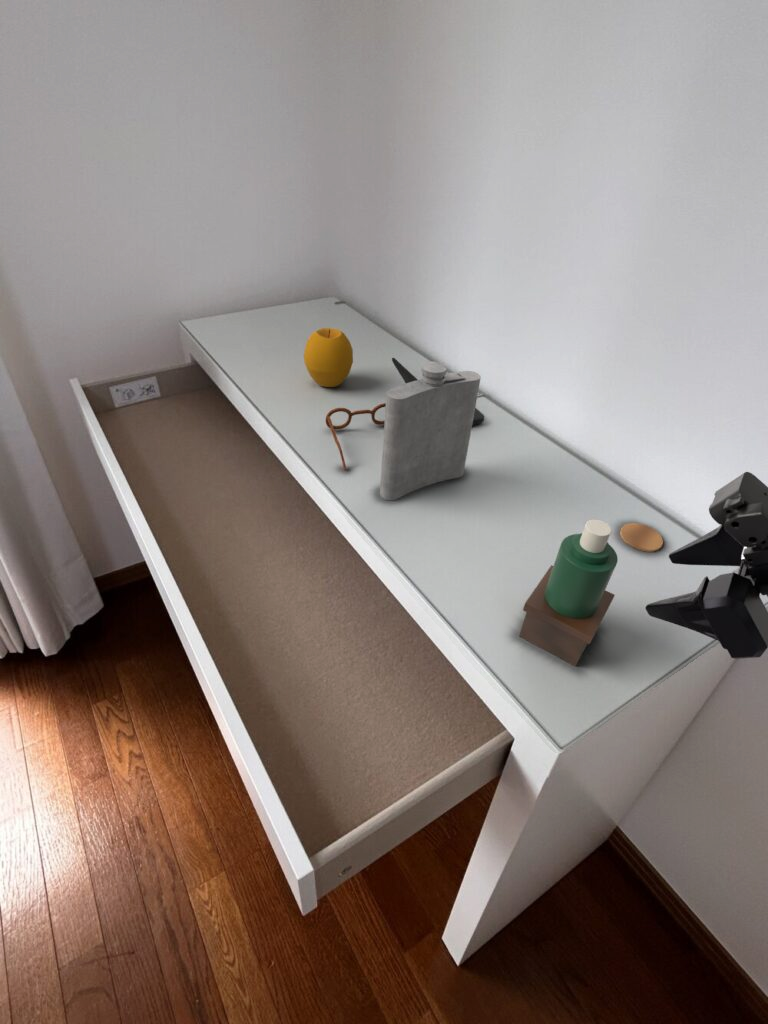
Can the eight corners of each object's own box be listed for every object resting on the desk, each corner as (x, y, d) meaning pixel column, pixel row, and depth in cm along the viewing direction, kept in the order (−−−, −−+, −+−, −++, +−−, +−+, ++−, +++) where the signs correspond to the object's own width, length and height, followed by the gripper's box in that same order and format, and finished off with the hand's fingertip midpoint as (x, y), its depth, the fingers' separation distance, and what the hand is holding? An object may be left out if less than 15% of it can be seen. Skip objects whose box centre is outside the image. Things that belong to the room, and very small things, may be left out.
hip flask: (386, 502, 88) (396, 383, 75) (373, 488, 90) (379, 371, 78) (467, 474, 95) (488, 361, 82) (452, 462, 97) (470, 351, 85)
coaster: (663, 533, 86) (664, 531, 86) (659, 557, 82) (660, 555, 81) (623, 520, 88) (624, 518, 88) (617, 542, 84) (618, 540, 83)
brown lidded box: (600, 627, 71) (615, 594, 67) (577, 670, 66) (592, 637, 62) (540, 597, 74) (551, 564, 70) (514, 636, 69) (524, 603, 65)
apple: (310, 398, 112) (309, 340, 104) (299, 376, 119) (297, 321, 111) (358, 393, 115) (360, 336, 107) (344, 372, 122) (345, 317, 114)
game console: (486, 424, 108) (495, 380, 102) (422, 436, 103) (427, 391, 97) (446, 387, 119) (452, 346, 113) (387, 397, 114) (390, 354, 108)
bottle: (601, 591, 67) (632, 520, 60) (591, 626, 63) (624, 554, 56) (551, 573, 69) (575, 502, 62) (538, 606, 65) (563, 534, 58)
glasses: (394, 423, 106) (395, 399, 103) (417, 462, 97) (420, 437, 94) (325, 431, 103) (324, 406, 100) (342, 472, 93) (343, 446, 90)
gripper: (813, 423, 52) (647, 476, 63) (792, 528, 39) (591, 570, 51) (863, 524, 53) (692, 558, 65) (857, 656, 41) (648, 668, 53)
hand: (659, 583), depth 58 cm, fingers open, 9 cm apart
